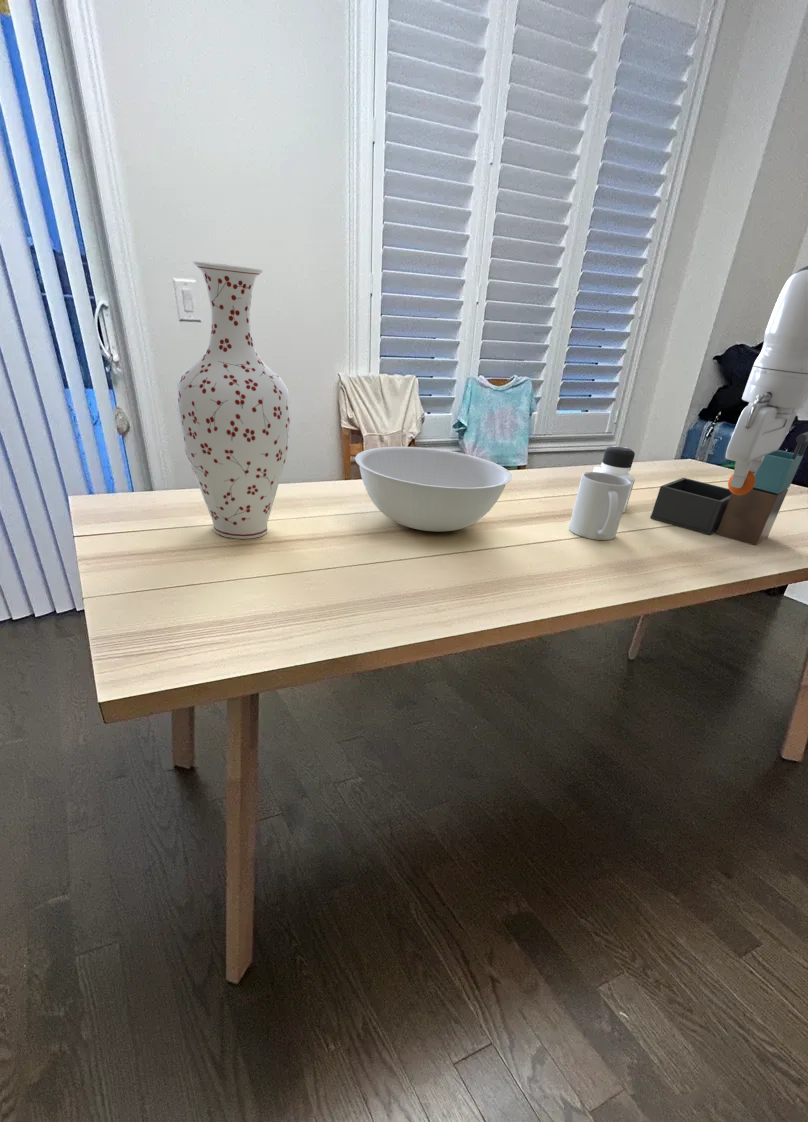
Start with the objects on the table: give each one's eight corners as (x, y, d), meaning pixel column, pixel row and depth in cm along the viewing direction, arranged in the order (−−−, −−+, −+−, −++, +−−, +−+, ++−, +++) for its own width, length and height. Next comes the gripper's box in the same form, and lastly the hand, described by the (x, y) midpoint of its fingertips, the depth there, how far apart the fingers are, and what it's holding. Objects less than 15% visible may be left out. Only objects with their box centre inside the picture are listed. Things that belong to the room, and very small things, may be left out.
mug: (578, 521, 126) (592, 469, 120) (624, 534, 122) (641, 480, 116) (557, 533, 118) (570, 477, 112) (605, 547, 114) (622, 490, 108)
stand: (767, 536, 131) (788, 488, 125) (756, 545, 125) (777, 495, 119) (728, 525, 135) (747, 478, 129) (715, 533, 129) (734, 484, 123)
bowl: (323, 508, 116) (324, 450, 110) (436, 495, 131) (442, 443, 125) (414, 559, 99) (421, 494, 94) (532, 538, 114) (544, 481, 108)
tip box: (792, 487, 125) (817, 431, 119) (781, 494, 119) (806, 435, 113) (747, 477, 129) (769, 422, 123) (735, 483, 123) (757, 426, 117)
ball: (752, 496, 106) (762, 471, 104) (745, 499, 103) (755, 474, 101) (728, 490, 108) (737, 465, 106) (721, 493, 105) (730, 468, 103)
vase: (310, 529, 106) (315, 275, 86) (248, 556, 94) (237, 266, 74) (233, 507, 111) (221, 263, 91) (165, 530, 99) (134, 253, 79)
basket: (729, 523, 136) (741, 492, 133) (709, 535, 127) (722, 502, 124) (672, 507, 142) (683, 477, 139) (650, 518, 133) (660, 486, 130)
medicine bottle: (625, 513, 134) (643, 453, 128) (592, 509, 134) (608, 449, 127) (616, 503, 140) (633, 446, 134) (585, 500, 140) (600, 442, 133)
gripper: (781, 398, 88) (743, 499, 96) (811, 392, 102) (775, 480, 110) (735, 390, 91) (701, 489, 99) (770, 385, 105) (738, 472, 113)
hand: (741, 484), depth 105 cm, fingers closed on ball, 4 cm apart
